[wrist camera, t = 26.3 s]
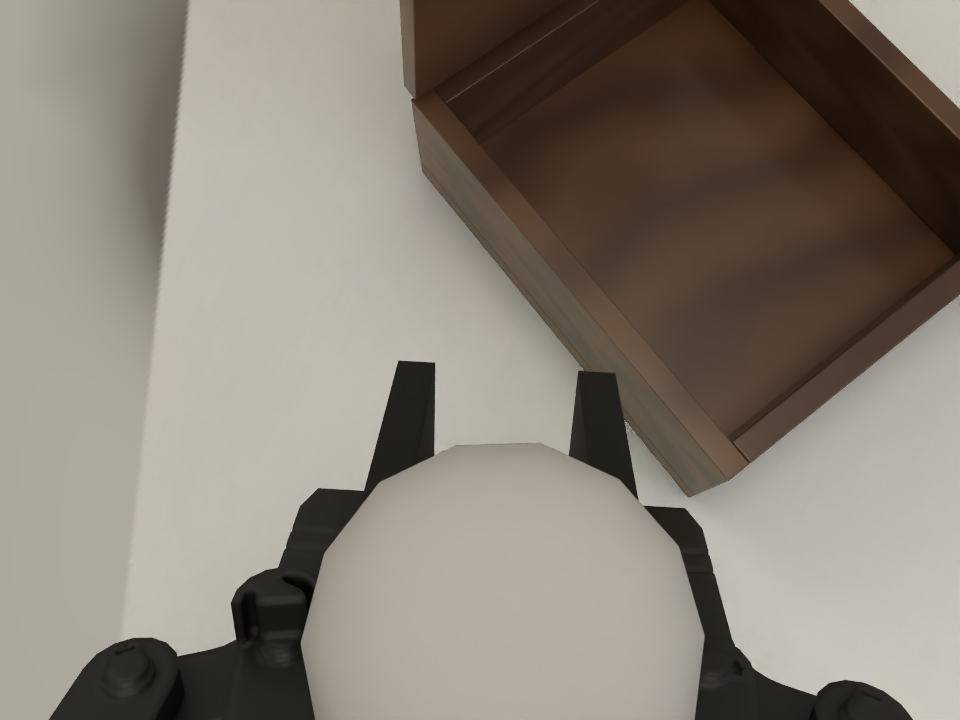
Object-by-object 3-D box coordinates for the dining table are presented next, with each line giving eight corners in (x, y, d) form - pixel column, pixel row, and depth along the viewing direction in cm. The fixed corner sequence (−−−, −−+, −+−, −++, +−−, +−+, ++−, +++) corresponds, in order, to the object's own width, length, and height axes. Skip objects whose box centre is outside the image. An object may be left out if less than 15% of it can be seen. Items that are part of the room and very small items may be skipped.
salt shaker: (588, 763, 20) (768, 1077, 7) (350, 709, 20) (120, 917, 7) (628, 515, 21) (835, 412, 9) (406, 469, 21) (293, 305, 9)
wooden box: (976, 267, 38) (1065, 210, 32) (688, 498, 35) (728, 480, 29) (697, -18, 42) (731, -115, 36) (421, 171, 39) (410, 99, 33)
